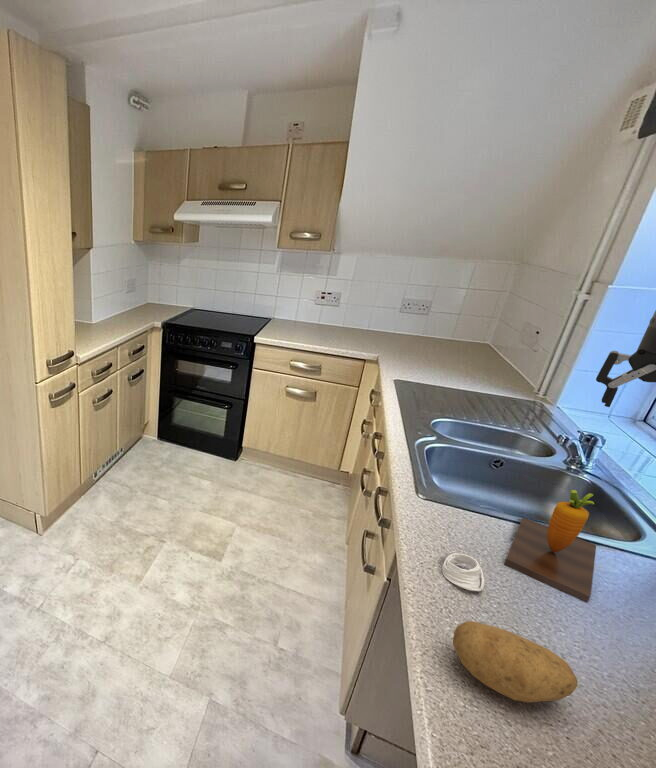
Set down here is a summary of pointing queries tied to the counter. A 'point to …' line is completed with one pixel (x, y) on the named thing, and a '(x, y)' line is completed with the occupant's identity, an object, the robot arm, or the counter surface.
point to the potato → (513, 663)
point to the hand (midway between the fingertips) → (640, 413)
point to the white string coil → (463, 572)
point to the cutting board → (552, 560)
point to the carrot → (567, 521)
